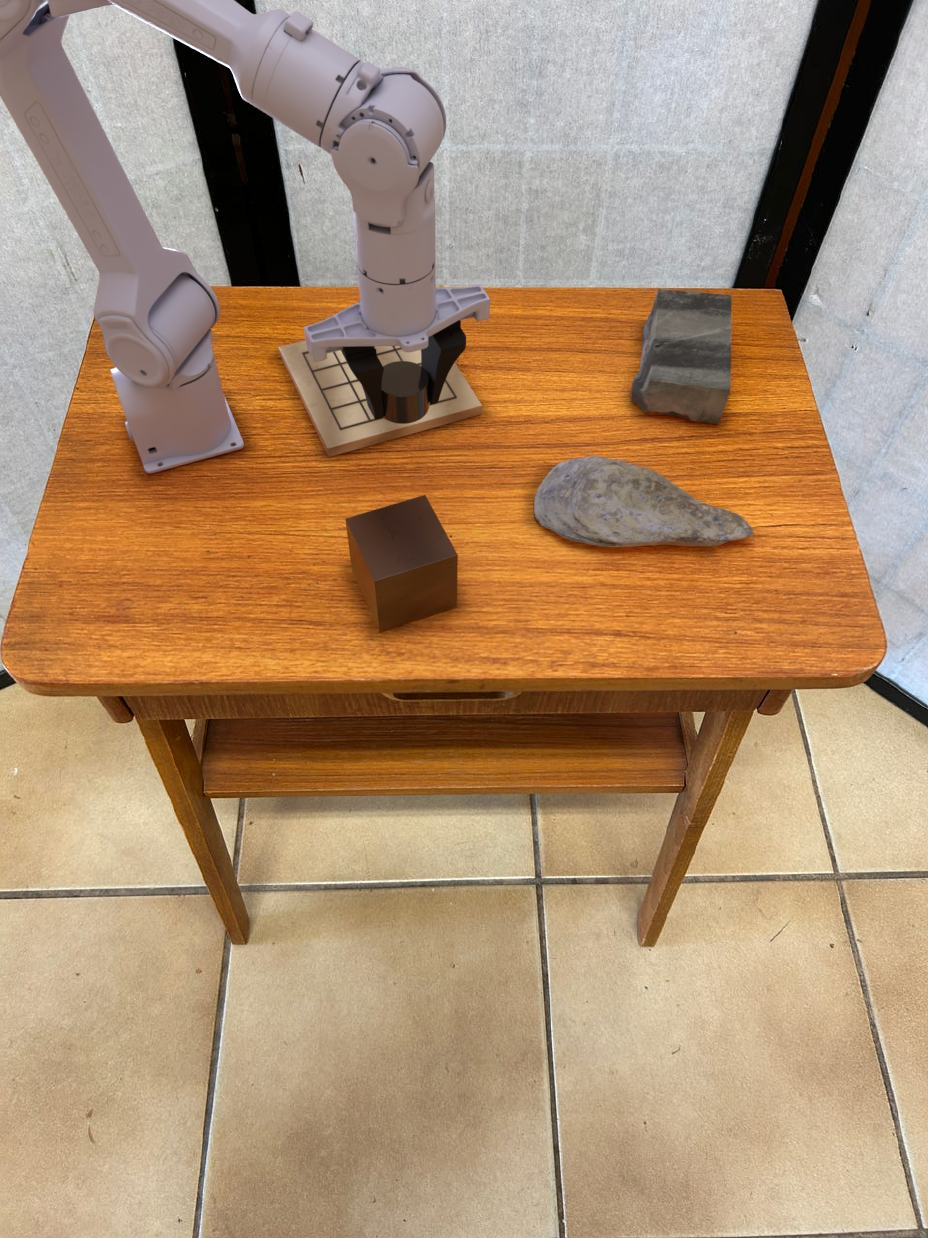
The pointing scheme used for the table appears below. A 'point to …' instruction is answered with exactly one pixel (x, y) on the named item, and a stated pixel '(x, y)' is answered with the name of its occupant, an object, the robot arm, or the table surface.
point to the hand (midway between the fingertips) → (402, 404)
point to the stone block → (686, 356)
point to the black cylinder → (404, 392)
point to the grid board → (344, 406)
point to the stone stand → (403, 562)
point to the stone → (628, 507)
